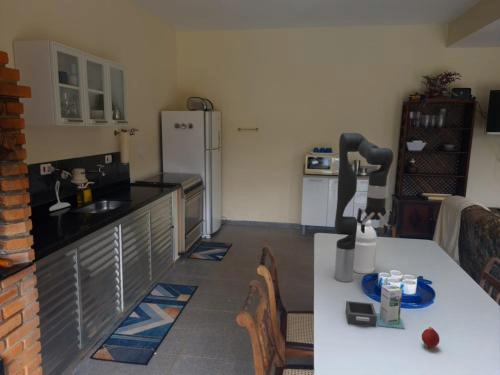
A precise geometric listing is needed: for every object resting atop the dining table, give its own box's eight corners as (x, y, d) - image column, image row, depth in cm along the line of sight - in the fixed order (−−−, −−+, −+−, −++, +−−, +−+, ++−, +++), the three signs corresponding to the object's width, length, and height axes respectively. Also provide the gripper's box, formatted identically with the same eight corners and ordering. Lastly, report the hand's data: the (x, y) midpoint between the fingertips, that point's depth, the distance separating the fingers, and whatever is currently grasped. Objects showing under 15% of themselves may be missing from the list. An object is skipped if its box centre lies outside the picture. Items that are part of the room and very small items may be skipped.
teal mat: (374, 314, 157) (374, 312, 157) (399, 316, 156) (399, 315, 156) (378, 326, 148) (378, 325, 148) (404, 329, 146) (404, 328, 146)
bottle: (376, 267, 209) (380, 219, 204) (373, 276, 197) (377, 225, 192) (350, 262, 215) (354, 216, 210) (346, 271, 203) (349, 221, 198)
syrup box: (386, 324, 148) (389, 290, 146) (379, 317, 154) (381, 284, 152) (399, 323, 150) (402, 289, 147) (391, 315, 155) (394, 283, 153)
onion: (433, 342, 138) (435, 322, 136) (441, 352, 132) (444, 331, 130) (417, 342, 137) (419, 322, 136) (425, 352, 132) (427, 331, 130)
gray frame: (345, 310, 160) (346, 301, 159) (371, 313, 158) (372, 303, 157) (348, 325, 148) (348, 315, 147) (376, 328, 146) (377, 318, 145)
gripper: (392, 195, 156) (389, 231, 159) (357, 193, 159) (355, 229, 162) (396, 198, 149) (393, 237, 152) (360, 196, 151) (357, 234, 154)
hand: (373, 233), depth 157 cm, fingers open, 8 cm apart
